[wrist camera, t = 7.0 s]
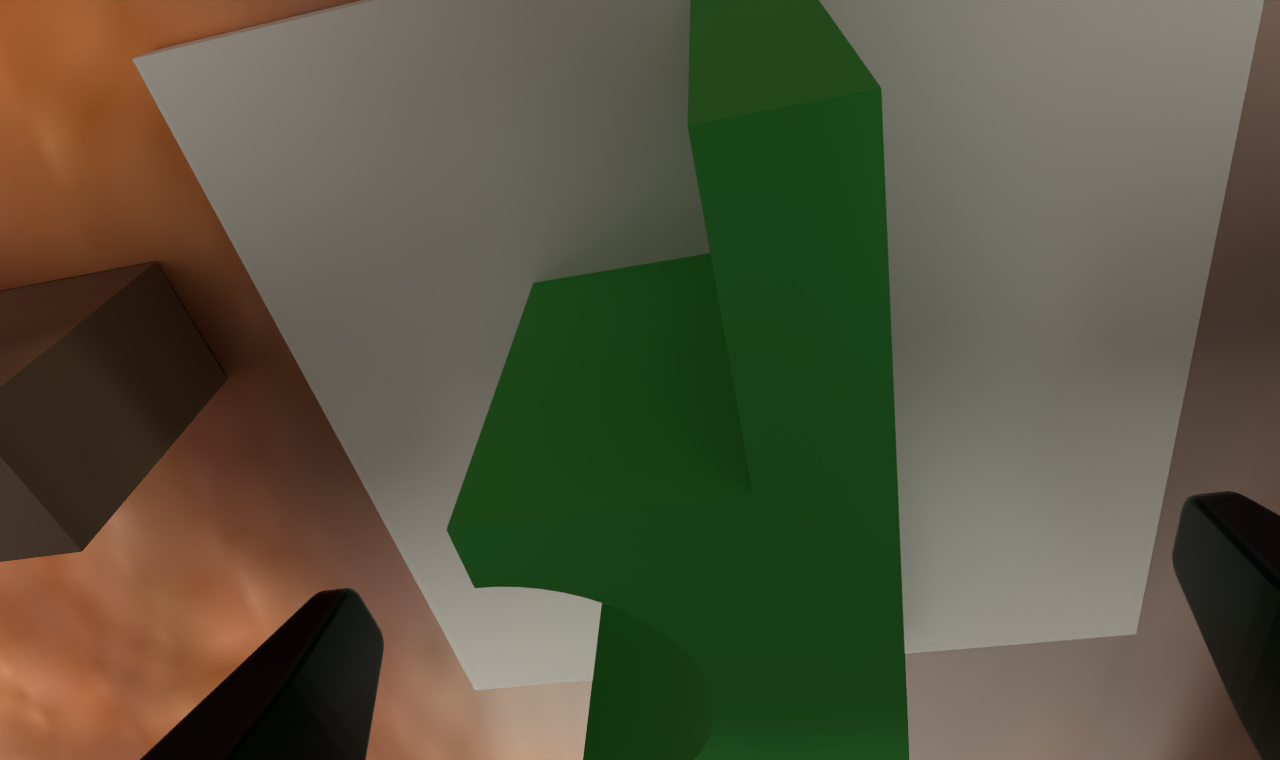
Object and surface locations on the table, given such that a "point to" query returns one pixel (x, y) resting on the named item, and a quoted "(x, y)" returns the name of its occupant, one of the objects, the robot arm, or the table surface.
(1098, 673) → the table surface
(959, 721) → the table surface
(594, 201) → the mat
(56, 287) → the pair of blocks
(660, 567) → the pipe clamp
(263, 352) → the table surface
